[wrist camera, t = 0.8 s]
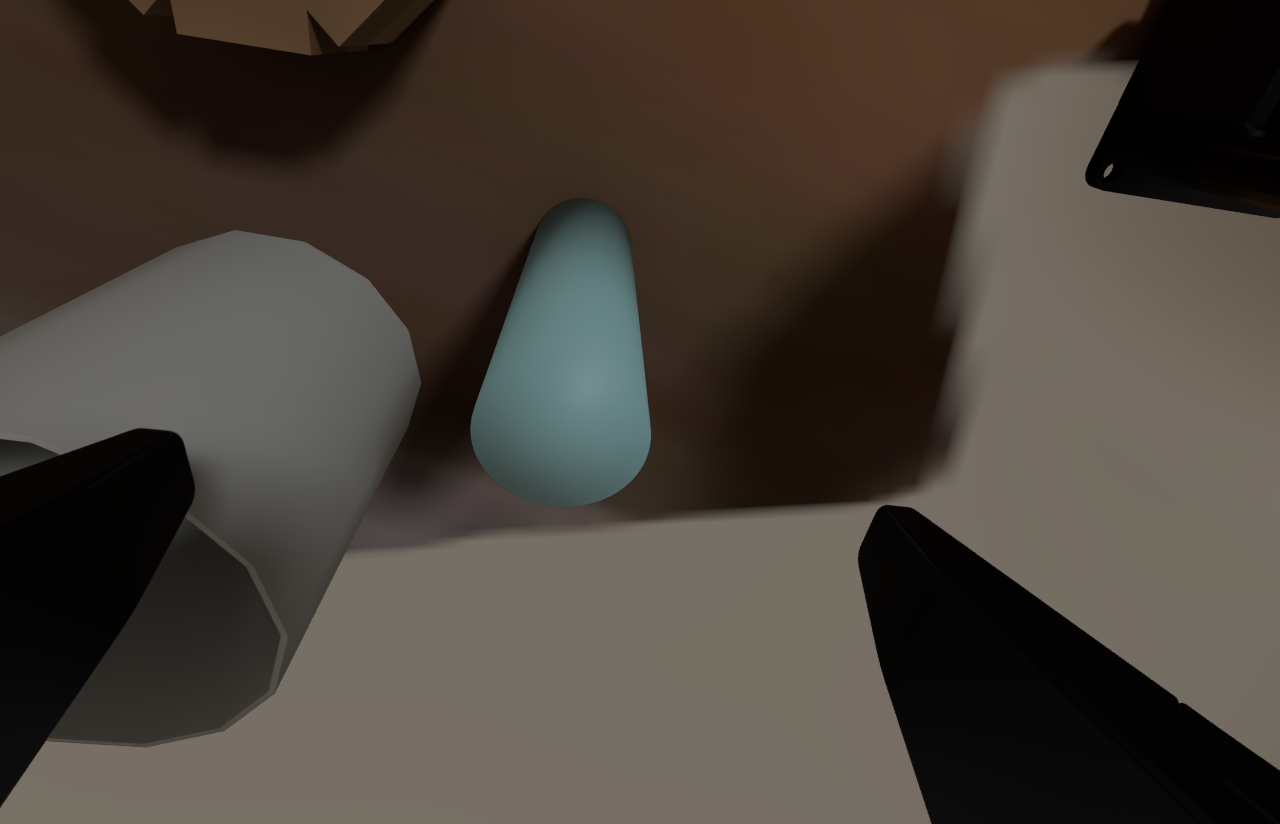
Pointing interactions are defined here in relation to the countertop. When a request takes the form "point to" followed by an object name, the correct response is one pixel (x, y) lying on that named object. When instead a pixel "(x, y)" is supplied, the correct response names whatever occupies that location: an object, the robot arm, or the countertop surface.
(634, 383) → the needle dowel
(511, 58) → the countertop surface
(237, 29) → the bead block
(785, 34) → the countertop surface
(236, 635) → the cup
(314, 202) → the countertop surface
